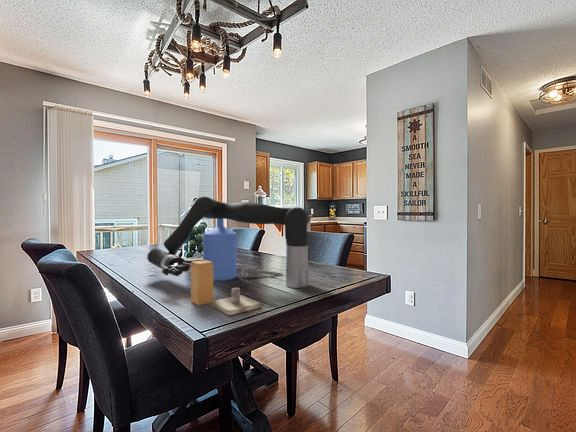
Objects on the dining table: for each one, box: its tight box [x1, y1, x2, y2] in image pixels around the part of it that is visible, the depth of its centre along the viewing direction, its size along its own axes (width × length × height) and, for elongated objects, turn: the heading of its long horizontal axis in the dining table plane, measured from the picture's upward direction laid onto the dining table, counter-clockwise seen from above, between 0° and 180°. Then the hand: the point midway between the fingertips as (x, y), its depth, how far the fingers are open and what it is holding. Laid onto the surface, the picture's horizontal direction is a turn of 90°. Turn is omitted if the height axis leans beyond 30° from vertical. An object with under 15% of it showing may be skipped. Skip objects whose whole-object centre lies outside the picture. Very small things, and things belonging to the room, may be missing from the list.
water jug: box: [202, 219, 238, 282], centre depth 144 cm, size 16×16×28 cm
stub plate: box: [210, 287, 262, 316], centre depth 103 cm, size 12×12×6 cm
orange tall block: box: [190, 259, 214, 306], centre depth 108 cm, size 6×6×14 cm
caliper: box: [241, 264, 284, 278], centre depth 148 cm, size 20×1×6 cm, turn 106°
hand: (189, 271), depth 115 cm, fingers open, 8 cm apart
